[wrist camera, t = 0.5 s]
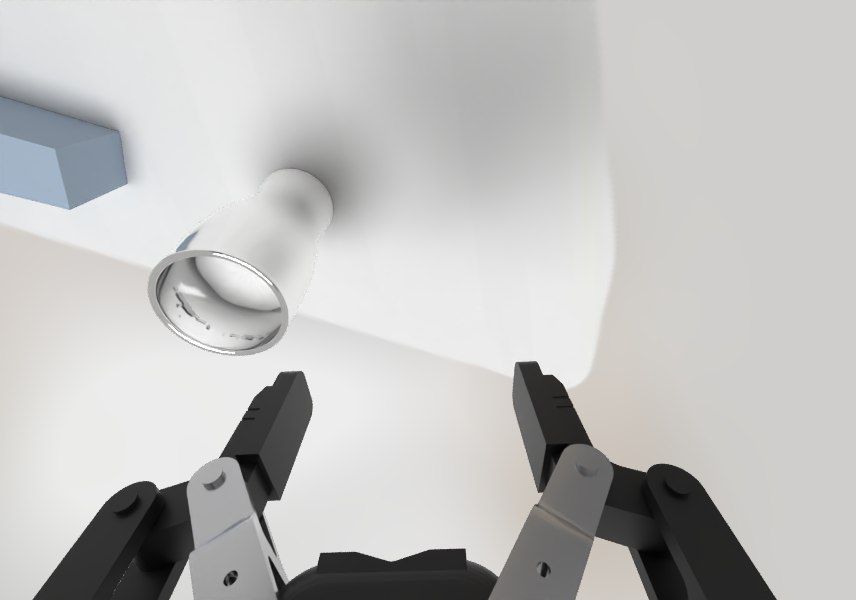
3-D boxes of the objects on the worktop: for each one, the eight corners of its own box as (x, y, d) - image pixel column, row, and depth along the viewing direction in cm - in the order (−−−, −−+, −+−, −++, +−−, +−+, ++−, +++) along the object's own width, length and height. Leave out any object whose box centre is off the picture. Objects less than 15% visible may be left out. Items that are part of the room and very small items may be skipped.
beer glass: (245, 221, 30) (135, 333, 18) (266, 145, 27) (148, 219, 15) (323, 253, 32) (272, 373, 20) (350, 187, 29) (310, 283, 17)
